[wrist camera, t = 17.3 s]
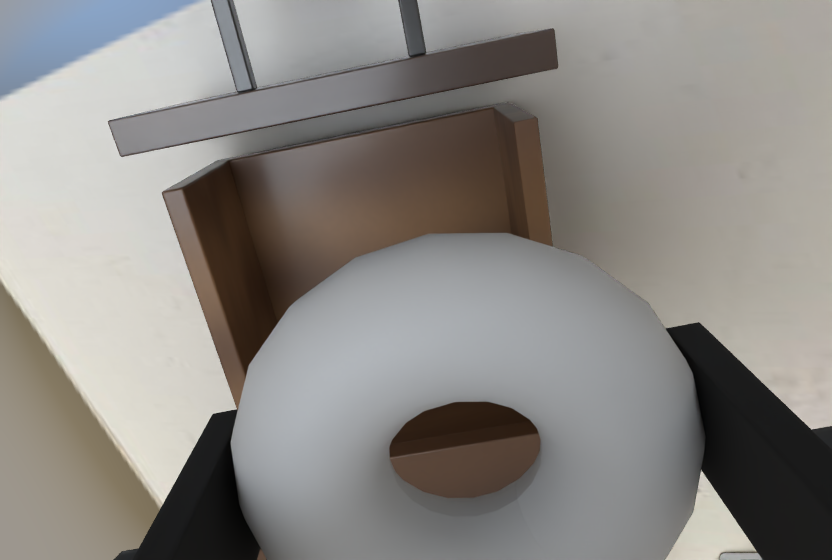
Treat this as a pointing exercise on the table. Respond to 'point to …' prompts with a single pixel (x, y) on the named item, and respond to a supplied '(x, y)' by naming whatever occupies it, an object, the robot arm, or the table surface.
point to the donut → (468, 382)
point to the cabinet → (466, 461)
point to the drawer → (347, 184)
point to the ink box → (740, 556)
